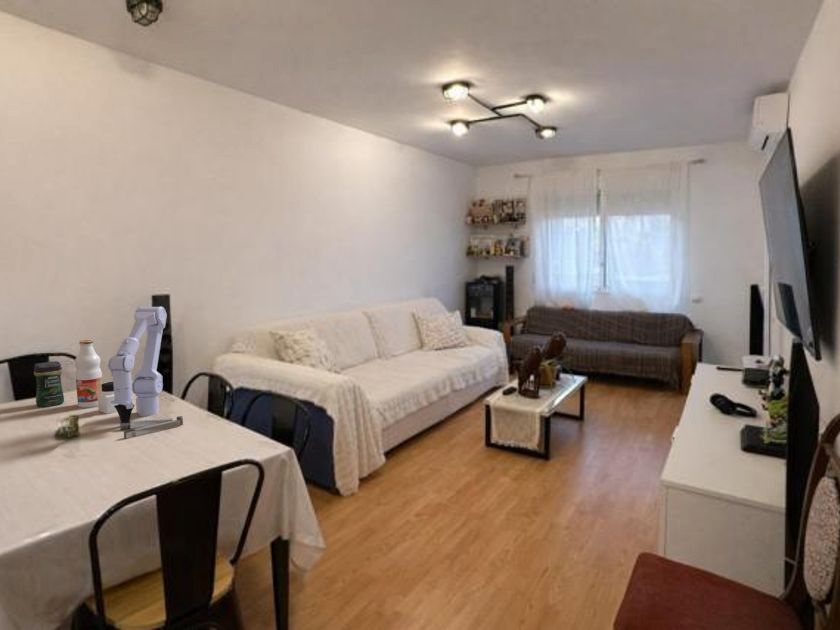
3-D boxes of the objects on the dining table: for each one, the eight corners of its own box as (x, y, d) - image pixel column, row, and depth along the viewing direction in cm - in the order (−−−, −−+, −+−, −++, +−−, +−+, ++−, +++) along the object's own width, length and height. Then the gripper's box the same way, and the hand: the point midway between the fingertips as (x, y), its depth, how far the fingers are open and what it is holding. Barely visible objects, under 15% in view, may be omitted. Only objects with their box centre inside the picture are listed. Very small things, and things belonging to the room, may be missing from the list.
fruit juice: (109, 403, 217) (104, 339, 213) (87, 409, 208) (82, 343, 205) (94, 400, 220) (89, 338, 217) (72, 406, 211) (67, 341, 208)
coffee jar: (39, 409, 208) (35, 365, 206) (34, 405, 213) (30, 362, 211) (67, 403, 216) (63, 361, 213) (61, 400, 221) (57, 359, 218)
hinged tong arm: (173, 424, 185) (172, 418, 185) (172, 425, 184) (172, 419, 183) (121, 428, 180) (121, 422, 180) (120, 430, 179) (120, 423, 179)
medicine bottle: (125, 409, 208) (123, 381, 206) (107, 414, 202) (104, 385, 200) (116, 406, 211) (114, 379, 210) (98, 411, 205) (96, 382, 204)
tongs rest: (108, 434, 179) (107, 422, 178) (172, 420, 194) (172, 409, 194) (123, 447, 166) (122, 435, 166) (191, 431, 182) (190, 419, 181)
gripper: (104, 386, 184) (107, 421, 186) (116, 393, 174) (119, 431, 176) (126, 382, 189) (128, 417, 191) (138, 389, 179) (140, 426, 181)
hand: (125, 423), depth 184 cm, fingers closed
